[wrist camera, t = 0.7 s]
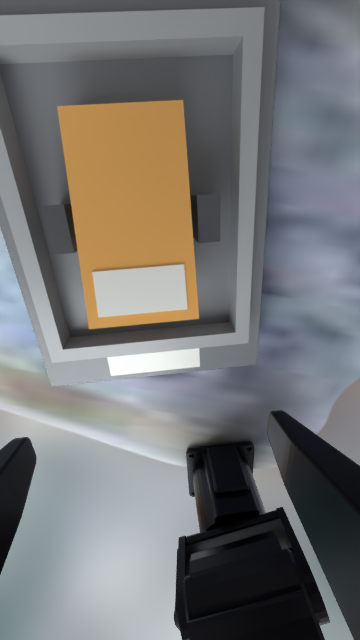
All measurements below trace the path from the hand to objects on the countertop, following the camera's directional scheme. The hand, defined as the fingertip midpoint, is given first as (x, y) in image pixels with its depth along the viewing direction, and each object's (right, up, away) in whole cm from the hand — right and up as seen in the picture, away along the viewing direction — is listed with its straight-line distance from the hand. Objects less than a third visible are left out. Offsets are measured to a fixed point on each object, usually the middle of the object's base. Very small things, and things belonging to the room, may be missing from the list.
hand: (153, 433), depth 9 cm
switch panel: (-2, +10, +8) cm, 13 cm away
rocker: (-1, +8, +3) cm, 9 cm away
